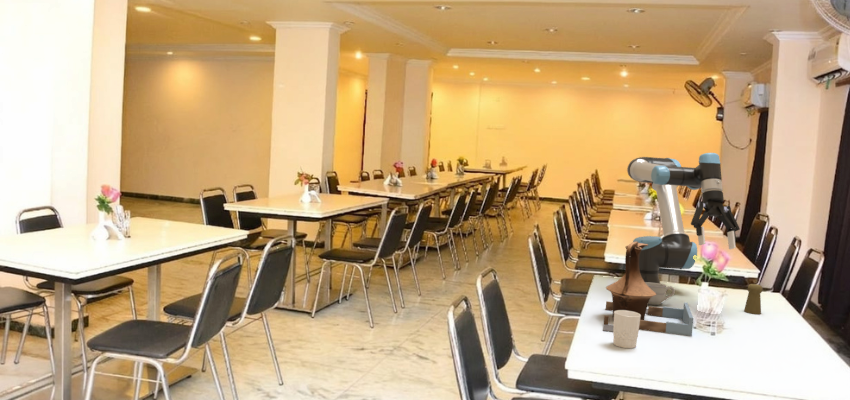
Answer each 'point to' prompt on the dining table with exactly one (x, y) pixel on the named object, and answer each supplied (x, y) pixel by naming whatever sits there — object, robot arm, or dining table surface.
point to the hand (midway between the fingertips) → (717, 246)
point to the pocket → (679, 314)
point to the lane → (643, 323)
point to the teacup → (659, 293)
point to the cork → (753, 299)
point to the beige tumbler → (626, 328)
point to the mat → (608, 328)
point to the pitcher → (631, 285)
